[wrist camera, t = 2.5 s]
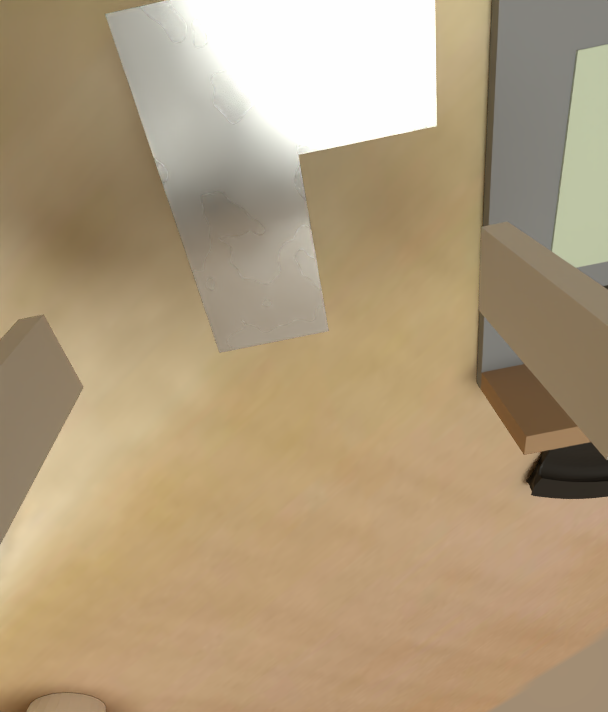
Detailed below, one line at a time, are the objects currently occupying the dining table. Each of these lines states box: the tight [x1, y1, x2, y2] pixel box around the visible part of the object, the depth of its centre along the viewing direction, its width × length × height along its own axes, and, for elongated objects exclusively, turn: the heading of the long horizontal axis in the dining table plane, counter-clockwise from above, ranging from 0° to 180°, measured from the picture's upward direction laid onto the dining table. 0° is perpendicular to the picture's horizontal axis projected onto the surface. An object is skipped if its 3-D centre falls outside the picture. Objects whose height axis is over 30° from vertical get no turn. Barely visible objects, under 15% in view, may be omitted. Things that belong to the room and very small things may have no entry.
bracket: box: [105, 0, 437, 353], centre depth 16 cm, size 10×8×6 cm
